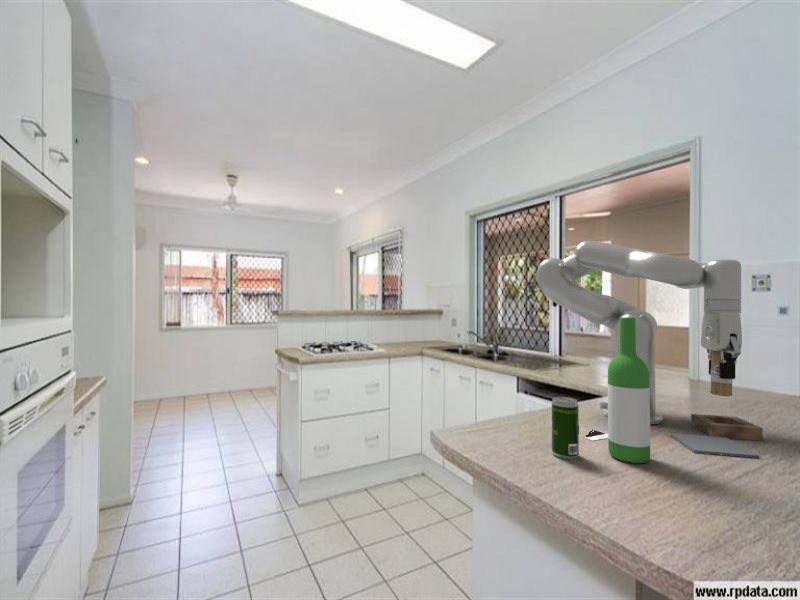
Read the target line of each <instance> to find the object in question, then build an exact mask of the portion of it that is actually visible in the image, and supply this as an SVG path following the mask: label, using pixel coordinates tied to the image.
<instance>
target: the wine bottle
mask: <svg viewBox="0 0 800 600" xmlns="http://www.w3.org/2000/svg"><path fill="white" fill-rule="evenodd" d="M607 403H608V410H607V434H608V439H607V441H608V442H607V443H608V446H607V447H608V452H609V454H610V456H611V457H612V458H614V459H616V460H618V459H619V461H621V460H622V461H621V462H625V463H629V462H631V463H630V464H644V463H645V464H646V463H647V462H649V461H650V459H651V424H650V387H649V370H648V368H647V366H646V364H645V363H644V361H643V360H642V359H640V358H639V357H638V356H637V355H636V332H635V318H620V353H619V355H618V356H617V355H616V356H615V357H613V359H611V361H610V362H609V365H608V368H607Z"/></svg>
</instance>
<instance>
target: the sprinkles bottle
mask: <svg viewBox="0 0 800 600" xmlns="http://www.w3.org/2000/svg"><path fill="white" fill-rule="evenodd" d="M724 350H727V351H731V348H726V349H724ZM711 352H712V353H711V355H712V356H711V375H710V392H709V393H710V394H712V395H715V396H719V397H732V396H733V380H734V379H722V378H720V377H719V364H720V363H722V362H721V354H720V351H716V350H712V351H711ZM725 354H726V356H727V354H728V353H725Z"/></svg>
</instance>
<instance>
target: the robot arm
mask: <svg viewBox="0 0 800 600" xmlns="http://www.w3.org/2000/svg"><path fill="white" fill-rule="evenodd" d="M596 271H601V272H604V273H609V274H613V275H618V276H621V277H625V278H638V279H639V278H641V279H646V280H650V281H655V282H659V283H664V284H668V285H672V286H675V287H676V288H679V289H682V290H691V289H696V288H697V289H699V288H703V317H702V323H701V336H700V345H701V347H702V348H704V349H705V350H706V353H707V360H708V374H709V375H710V376H711V356H712V355H711V353H712V352H711V351H712V350H716V351H720V354H721V362H722V363H720V364H719V377H720V378H722V379H733V380H735V379H736V365H737V363H738V361H737V359H738V357H739V356H740V355H741V354H742V347H743V345H742V343H743V333H742V332H743V331H742V322H741V321H742V320H741V314H742V264H741V262H740V261H738V260H736V259H716V260H709V261H708V262H698V261H696V260H694V259H690V258H688V257H687V258H686V257H681V256H677V255H672V254H667V253H661V252H655V251H650V250H649V251H648V250H643V249H638V248H634V247H628V246H622V245H617V244H613V243H605V242H601V241H595V240H584V241H582V242H580V243H578V244H577V246H576V247H575V248H574V253H573V254H571V255H570V256H567V257H566V258H563V259H560V258H557V257H550V258H546V259H544V260H543V261H542V262H540V263H539V265H538V266H537V270H536V280H537V284H538V287H539V289H540V290H541V292H542V293H543V294H544V295H545V297H547V298H548V299H549V300H550V301H552V302H553V303H555V304H557V305H558V306H561V307H562V308H564V309H566V310H568V311H570V312H571V313H573V314H575V315H578V316H579V317H581V318H583V319H585V320H587V321H589V322H590V323H592V324H595V325H603V326H605V327H607V328H608V329H611V330H612V331H615V332H614V334H615V342H616V356H618V355H619V353H620V318H635V332H636V355H637V356H638V357H639V358H640V359H642V360H643V361H644V363H645V364H646V366H647V368H648V370H649V387H650V425H658V424H661V423H663V417H662V416H661V415H660V414H657V410H656V408H657V407H656V355H655V354H656V352H655V351H656V349H655V334H656V333H657V331H658V323H657V320H656V319H655V316H653V315H652V314H651V313H649V312H648V311H646V310H643V309H641V308H639V307H636V306H634V305H632V304H629V303H627V302H625V301H622V300H621V299H618V298H615V297H613V296H611V295H608V294H601V293H598V292H595V291H593V290H590V289H587V288H585V287H583V286H582V285H579V284H577V283H575V282H574V281H577V280H579V279H581V278H583V277H585V276H587V275H590V274H592V273H593V272H596ZM726 348H731V351H727V350H724V349H726ZM725 353H728V354H727V356H726V354H725ZM599 409H601V410H607V411H608V401H606V402H603V401H602V402H601V401H600V402H599Z"/></svg>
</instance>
